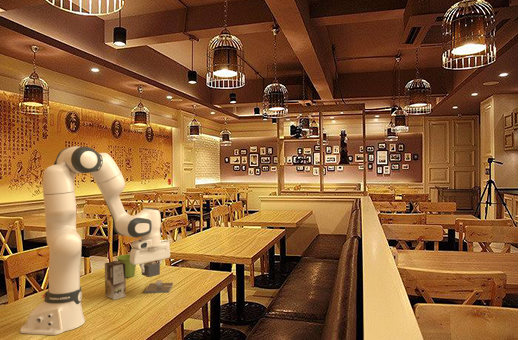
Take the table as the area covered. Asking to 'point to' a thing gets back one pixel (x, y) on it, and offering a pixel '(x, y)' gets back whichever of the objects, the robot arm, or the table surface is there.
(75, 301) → the robot arm
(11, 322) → the table surface
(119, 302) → the table surface
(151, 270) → the grey drawer unit
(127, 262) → the plant pot
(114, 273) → the coffee box
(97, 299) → the table surface
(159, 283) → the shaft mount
